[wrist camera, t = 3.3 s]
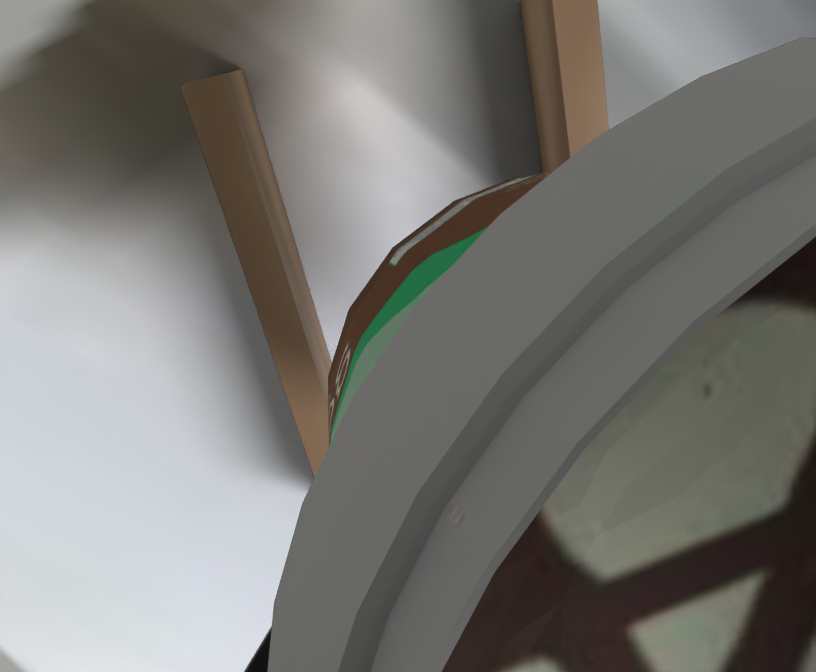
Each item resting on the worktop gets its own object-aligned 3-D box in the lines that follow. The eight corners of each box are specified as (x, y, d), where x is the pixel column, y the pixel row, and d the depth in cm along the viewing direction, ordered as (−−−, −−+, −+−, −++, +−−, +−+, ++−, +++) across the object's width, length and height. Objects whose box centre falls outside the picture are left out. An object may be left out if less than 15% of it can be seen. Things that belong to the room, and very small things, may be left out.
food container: (177, 189, 12) (-133, 321, 3) (491, 103, 13) (1098, -25, 3) (360, 697, 16) (492, 1486, 7) (595, 608, 17) (1022, 1204, 7)
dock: (557, -8, 17) (596, -17, 15) (608, 444, 23) (642, 498, 21) (205, 77, 18) (179, 85, 15) (345, 505, 24) (345, 566, 21)
